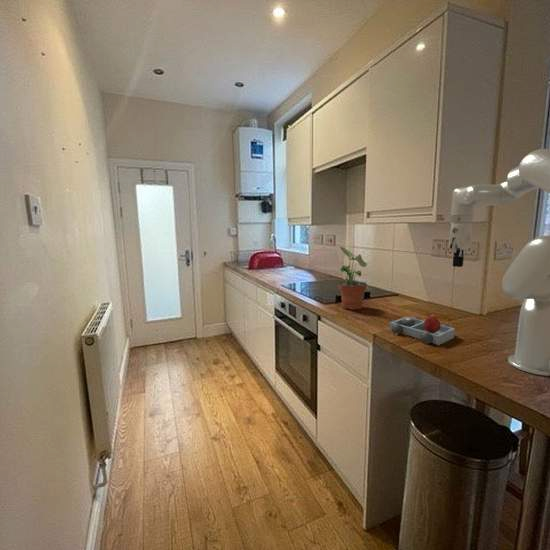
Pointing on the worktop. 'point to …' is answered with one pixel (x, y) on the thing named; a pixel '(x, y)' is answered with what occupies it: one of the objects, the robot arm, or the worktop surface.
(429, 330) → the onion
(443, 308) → the worktop surface
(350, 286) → the potted plant
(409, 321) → the spare wheel
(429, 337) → the chassis
